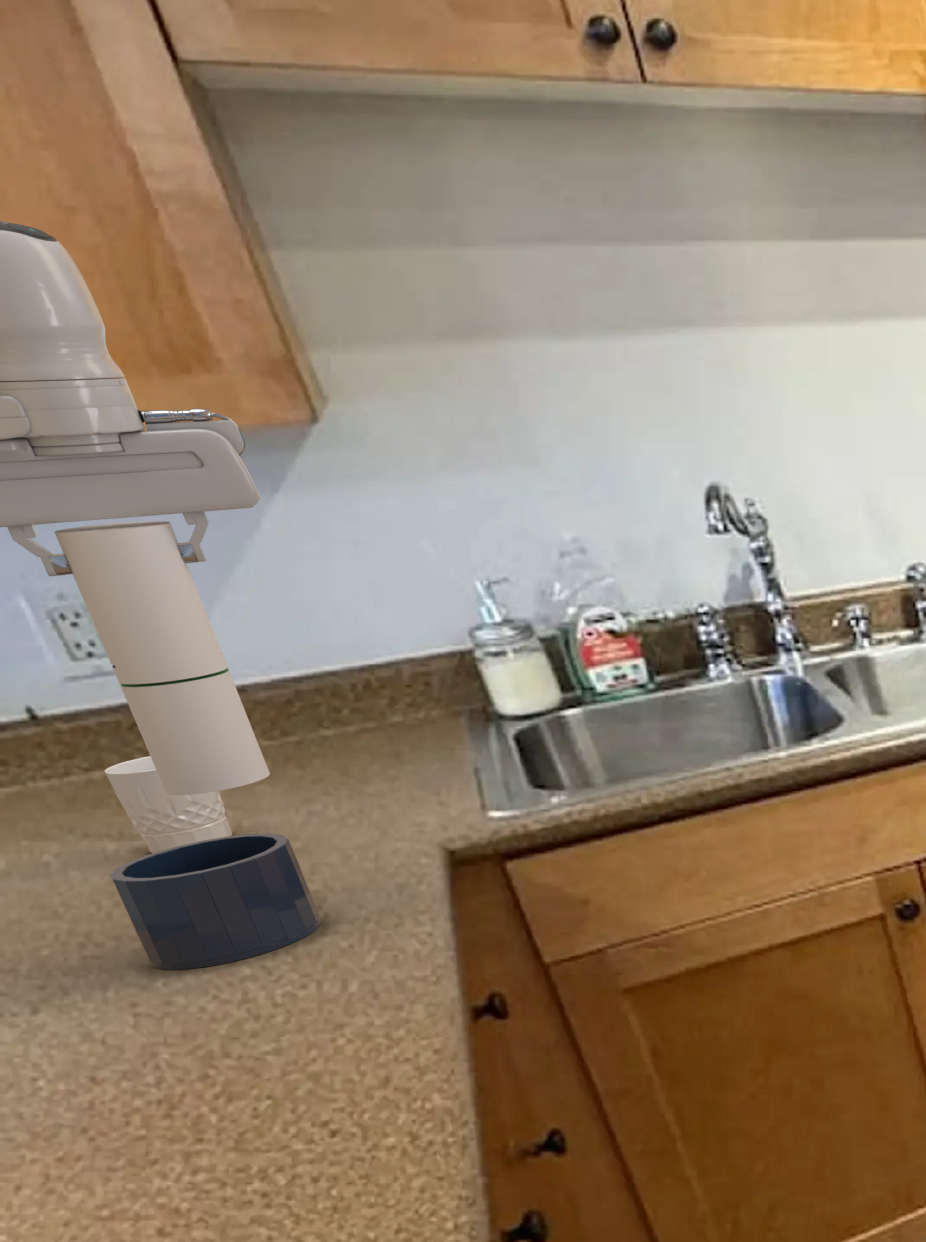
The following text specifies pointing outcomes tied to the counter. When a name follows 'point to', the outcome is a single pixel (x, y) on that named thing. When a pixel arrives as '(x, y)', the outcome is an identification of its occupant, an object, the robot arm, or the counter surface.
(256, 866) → the crock
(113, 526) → the cylindrical container
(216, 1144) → the counter surface
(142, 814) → the white cup
